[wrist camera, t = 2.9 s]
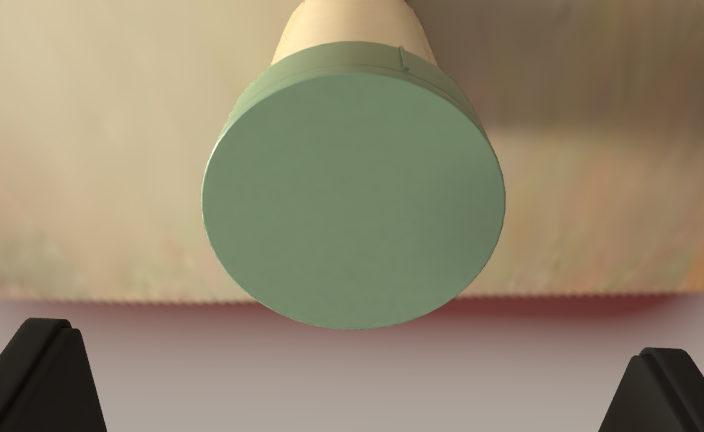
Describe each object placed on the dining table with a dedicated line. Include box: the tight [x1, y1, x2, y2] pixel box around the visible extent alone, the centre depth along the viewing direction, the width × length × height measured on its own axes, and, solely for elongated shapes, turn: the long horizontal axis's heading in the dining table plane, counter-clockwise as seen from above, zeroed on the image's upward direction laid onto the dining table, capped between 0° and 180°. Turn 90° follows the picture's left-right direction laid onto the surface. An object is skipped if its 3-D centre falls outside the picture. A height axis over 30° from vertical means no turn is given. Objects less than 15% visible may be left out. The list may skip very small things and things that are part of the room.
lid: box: [201, 41, 506, 330], centre depth 15 cm, size 8×8×2 cm
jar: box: [270, 0, 438, 67], centre depth 20 cm, size 6×6×12 cm
